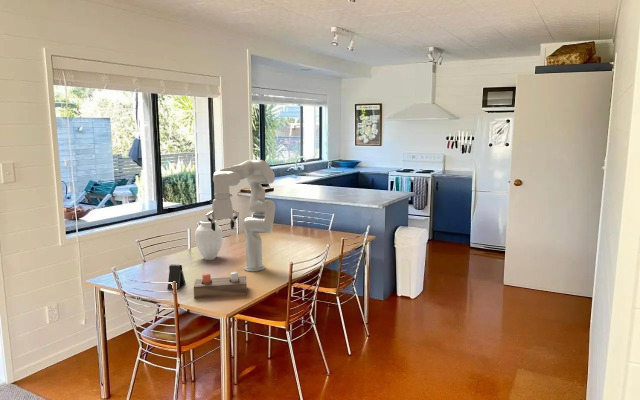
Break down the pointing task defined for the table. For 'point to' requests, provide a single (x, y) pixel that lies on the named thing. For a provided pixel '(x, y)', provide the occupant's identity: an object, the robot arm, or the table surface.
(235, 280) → the white plug
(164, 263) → the table surface
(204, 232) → the vase
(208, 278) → the red plug
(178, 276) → the phone stand
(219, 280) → the plug block
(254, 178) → the robot arm
